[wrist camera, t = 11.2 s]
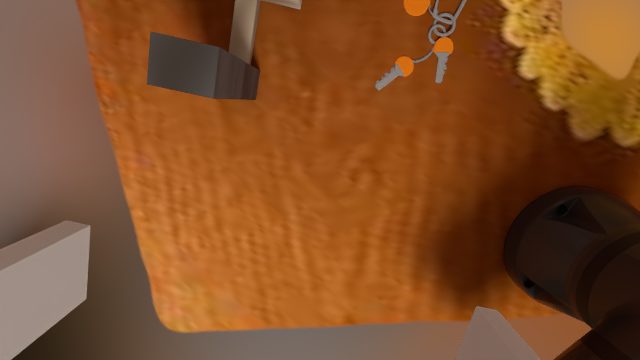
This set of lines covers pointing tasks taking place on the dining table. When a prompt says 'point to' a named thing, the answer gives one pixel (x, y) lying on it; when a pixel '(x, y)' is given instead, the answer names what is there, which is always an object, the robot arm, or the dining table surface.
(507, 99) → the dining table surface
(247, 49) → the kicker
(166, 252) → the dining table surface
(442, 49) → the key chain
